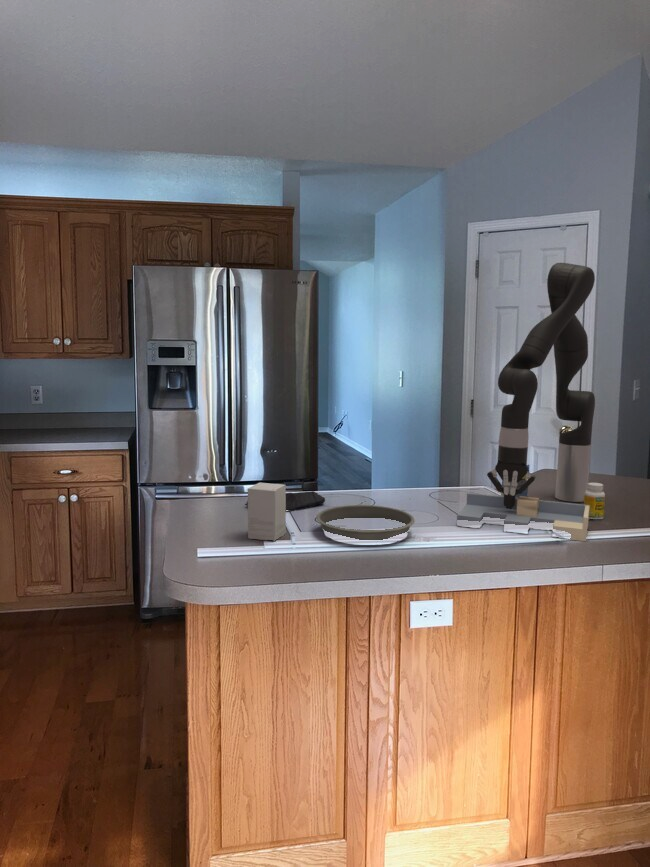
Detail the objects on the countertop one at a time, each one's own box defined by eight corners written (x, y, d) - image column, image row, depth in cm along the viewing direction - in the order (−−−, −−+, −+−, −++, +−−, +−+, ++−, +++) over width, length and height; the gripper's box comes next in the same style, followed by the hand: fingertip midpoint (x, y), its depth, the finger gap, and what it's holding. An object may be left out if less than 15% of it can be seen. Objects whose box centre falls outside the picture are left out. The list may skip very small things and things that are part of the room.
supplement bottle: (591, 514, 209) (593, 481, 207) (607, 518, 204) (610, 484, 203) (578, 516, 206) (581, 483, 204) (595, 521, 201) (597, 486, 200)
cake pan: (304, 524, 194) (304, 507, 193) (391, 518, 201) (391, 502, 201) (333, 552, 171) (334, 533, 170) (430, 544, 178) (431, 526, 177)
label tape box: (515, 502, 221) (517, 462, 219) (527, 505, 218) (530, 464, 216) (499, 507, 215) (501, 465, 213) (511, 510, 212) (514, 468, 210)
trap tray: (466, 513, 206) (467, 492, 206) (587, 527, 195) (589, 505, 194) (456, 526, 194) (457, 504, 193) (585, 541, 182) (587, 517, 181)
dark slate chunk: (332, 508, 212) (332, 492, 211) (262, 517, 201) (262, 500, 200) (306, 497, 225) (306, 481, 224) (239, 504, 214) (239, 488, 213)
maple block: (519, 510, 199) (519, 496, 198) (538, 512, 197) (539, 498, 197) (516, 515, 194) (517, 500, 194) (536, 517, 193) (537, 502, 192)
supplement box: (286, 534, 184) (287, 484, 182) (274, 542, 177) (275, 490, 175) (259, 530, 186) (259, 481, 184) (246, 538, 179) (246, 487, 177)
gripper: (540, 444, 196) (536, 508, 199) (490, 440, 201) (486, 502, 204) (537, 448, 189) (532, 514, 192) (485, 444, 194) (481, 508, 197)
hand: (508, 508), depth 198 cm, fingers closed
